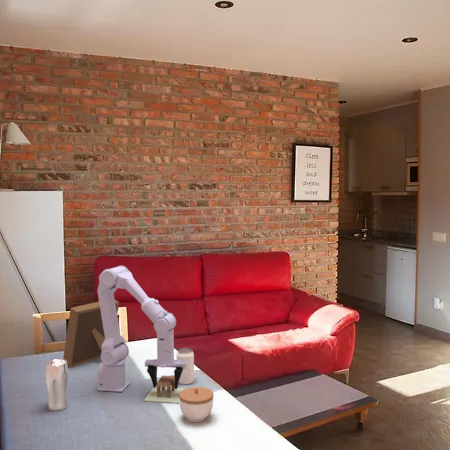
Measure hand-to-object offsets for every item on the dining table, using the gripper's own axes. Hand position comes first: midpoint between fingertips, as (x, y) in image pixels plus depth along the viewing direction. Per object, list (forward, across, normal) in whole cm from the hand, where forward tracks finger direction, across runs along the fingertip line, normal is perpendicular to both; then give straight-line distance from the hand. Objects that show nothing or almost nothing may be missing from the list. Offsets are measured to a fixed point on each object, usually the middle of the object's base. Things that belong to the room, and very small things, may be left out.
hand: (165, 387), depth 164 cm
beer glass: (+3, -33, -14) cm, 36 cm away
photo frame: (+3, -38, +28) cm, 47 cm away
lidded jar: (+3, +14, -15) cm, 21 cm away
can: (+3, +4, +13) cm, 14 cm away
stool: (+2, 0, 0) cm, 2 cm away
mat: (+3, 0, 0) cm, 3 cm away
